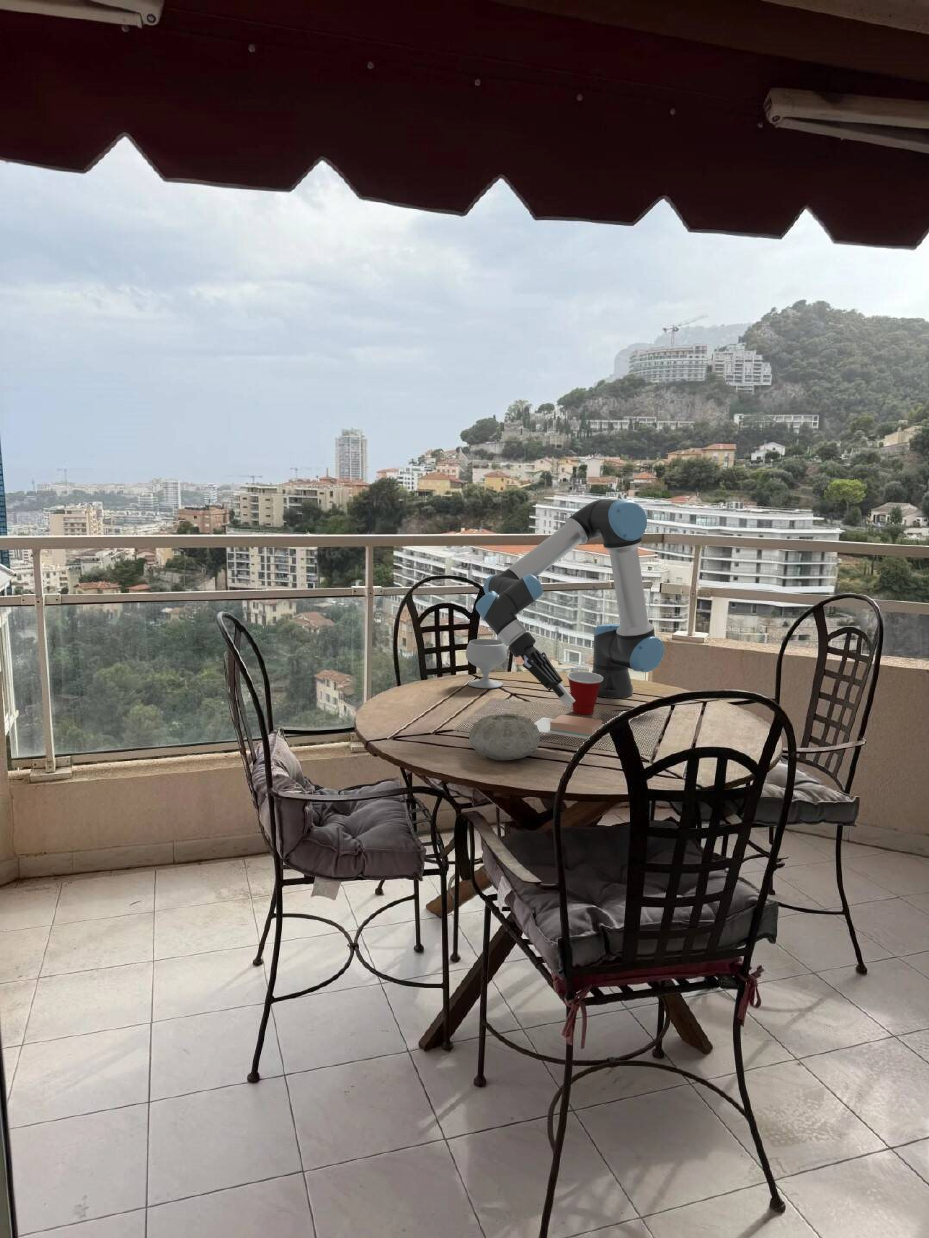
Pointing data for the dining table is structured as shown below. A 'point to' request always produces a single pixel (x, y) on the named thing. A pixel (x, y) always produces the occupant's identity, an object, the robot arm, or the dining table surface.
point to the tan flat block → (575, 725)
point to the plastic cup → (584, 691)
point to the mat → (544, 726)
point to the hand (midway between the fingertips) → (571, 704)
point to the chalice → (486, 660)
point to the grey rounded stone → (505, 736)
